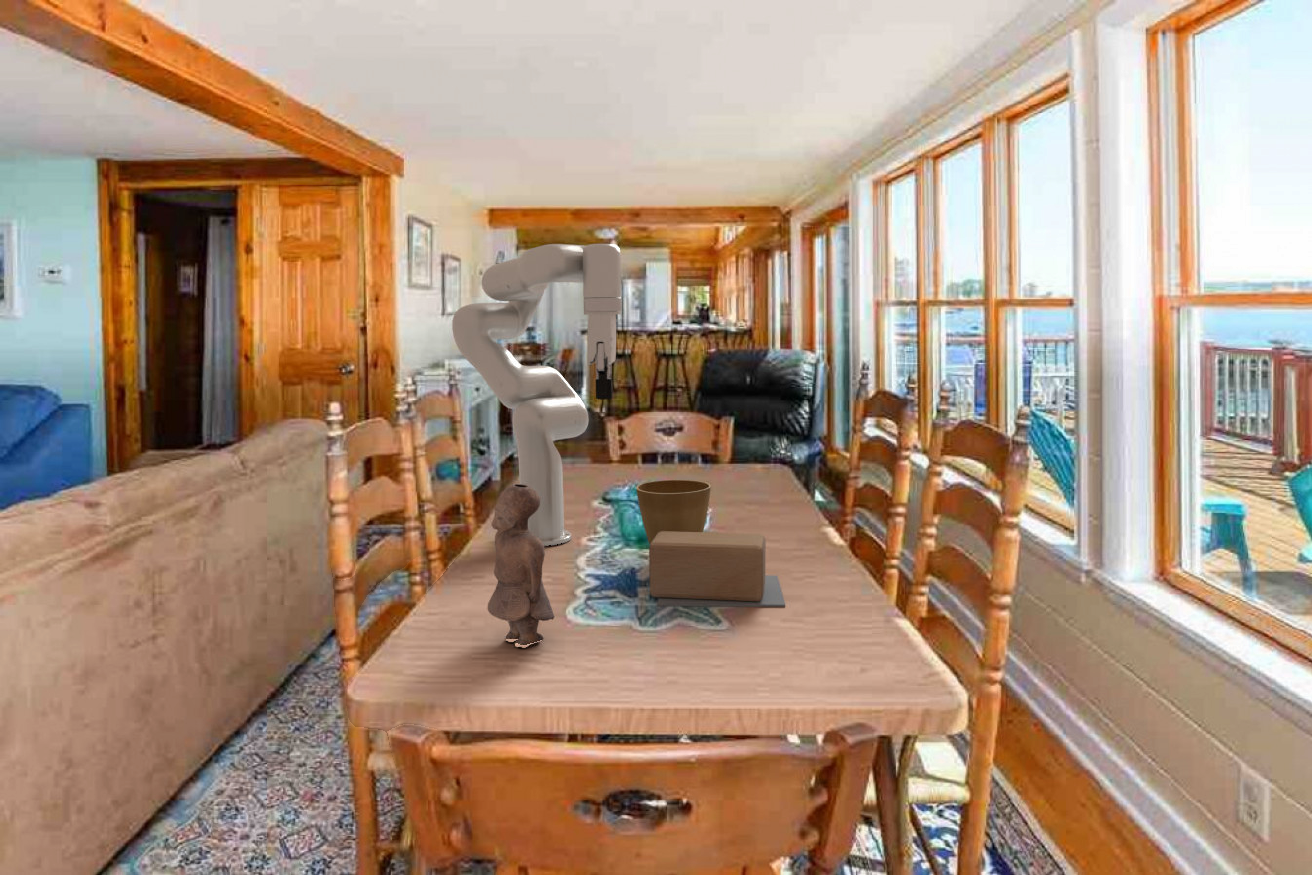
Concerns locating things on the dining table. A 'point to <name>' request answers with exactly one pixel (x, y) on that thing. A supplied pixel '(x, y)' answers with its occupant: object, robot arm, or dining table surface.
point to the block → (707, 566)
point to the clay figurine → (519, 566)
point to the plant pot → (673, 506)
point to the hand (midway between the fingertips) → (604, 398)
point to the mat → (769, 599)
